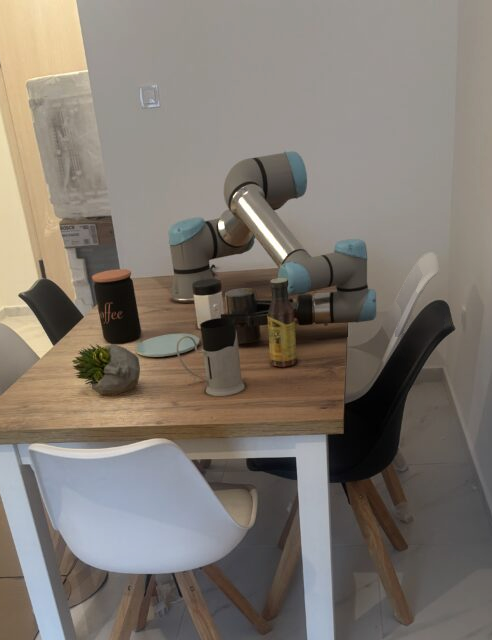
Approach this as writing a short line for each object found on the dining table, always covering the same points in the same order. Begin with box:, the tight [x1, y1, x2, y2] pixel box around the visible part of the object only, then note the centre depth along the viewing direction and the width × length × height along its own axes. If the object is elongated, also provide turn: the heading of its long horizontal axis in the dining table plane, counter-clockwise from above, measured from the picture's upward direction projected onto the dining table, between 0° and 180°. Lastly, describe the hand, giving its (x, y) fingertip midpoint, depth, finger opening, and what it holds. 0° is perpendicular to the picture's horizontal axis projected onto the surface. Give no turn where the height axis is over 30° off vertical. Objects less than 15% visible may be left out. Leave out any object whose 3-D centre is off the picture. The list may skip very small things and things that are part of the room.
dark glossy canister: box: [224, 287, 262, 344], centre depth 196 cm, size 8×8×12 cm
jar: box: [192, 278, 225, 330], centre depth 215 cm, size 9×8×12 cm
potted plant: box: [71, 343, 141, 397], centre depth 177 cm, size 12×13×15 cm
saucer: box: [135, 333, 201, 358], centre depth 204 cm, size 17×17×1 cm
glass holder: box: [176, 318, 246, 397], centre depth 168 cm, size 9×14×15 cm, turn 111°
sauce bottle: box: [267, 277, 297, 368], centre depth 178 cm, size 7×6×20 cm
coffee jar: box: [91, 268, 142, 345], centre depth 212 cm, size 11×11×18 cm
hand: (224, 314), depth 197 cm, fingers closed on dark glossy canister, 8 cm apart
